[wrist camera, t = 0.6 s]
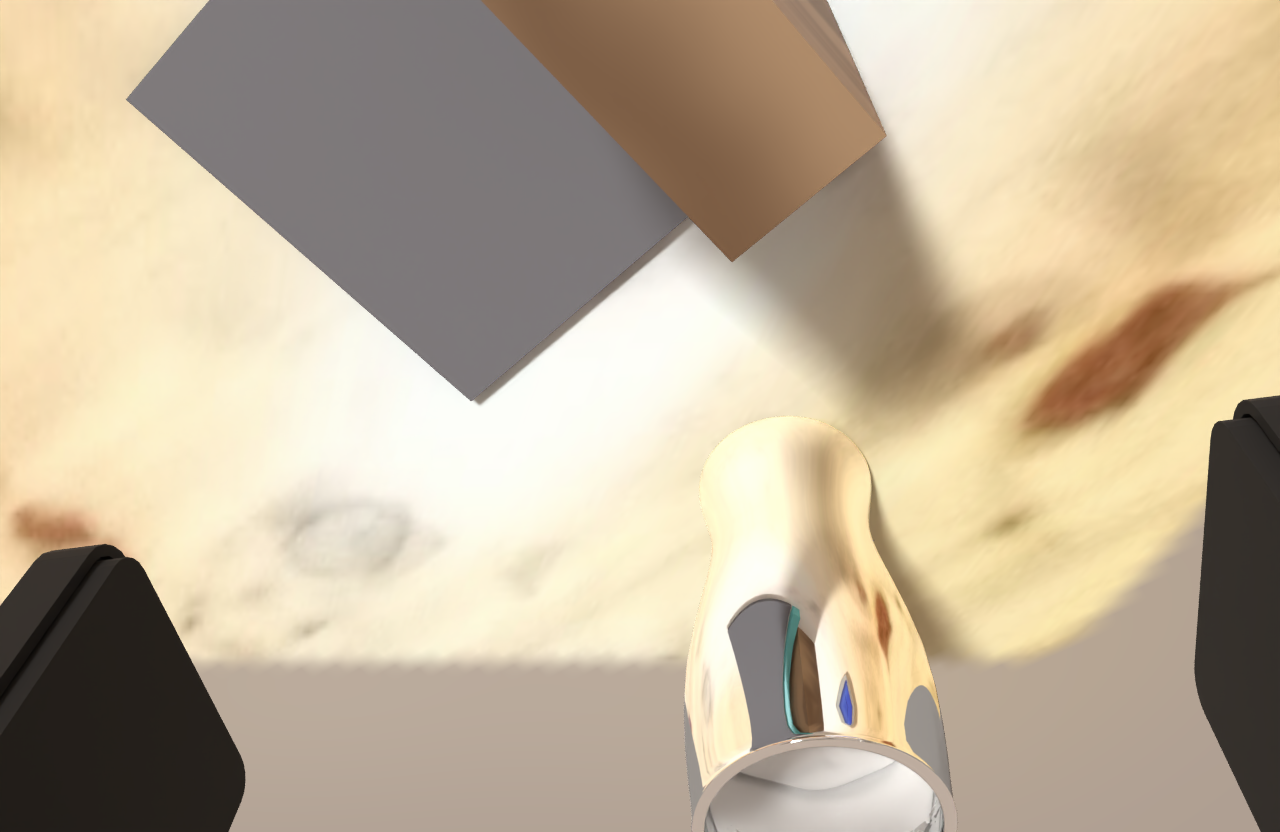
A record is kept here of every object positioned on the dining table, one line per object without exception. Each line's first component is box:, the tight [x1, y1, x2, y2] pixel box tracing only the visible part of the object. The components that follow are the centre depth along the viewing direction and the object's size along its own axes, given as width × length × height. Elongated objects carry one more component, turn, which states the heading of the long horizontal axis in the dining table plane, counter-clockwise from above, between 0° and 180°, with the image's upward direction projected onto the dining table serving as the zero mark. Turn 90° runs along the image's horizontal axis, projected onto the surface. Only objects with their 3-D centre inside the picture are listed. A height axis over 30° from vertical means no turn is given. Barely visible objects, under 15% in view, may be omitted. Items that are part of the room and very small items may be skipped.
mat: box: [126, 0, 688, 401], centre depth 36 cm, size 11×14×1 cm
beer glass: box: [684, 416, 958, 832], centre depth 36 cm, size 7×7×15 cm
